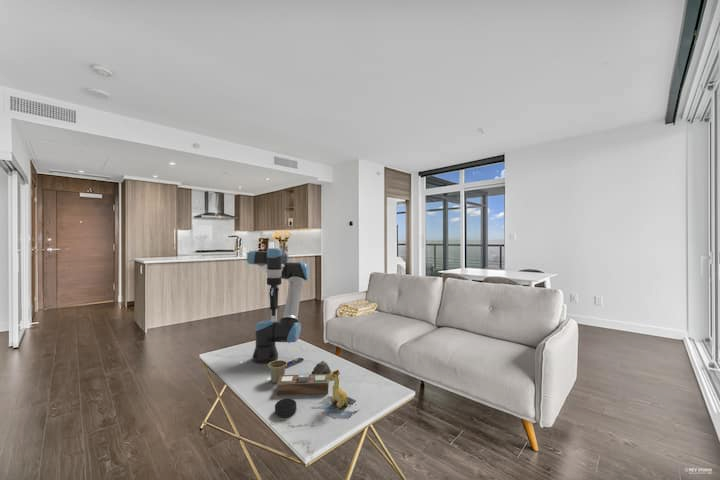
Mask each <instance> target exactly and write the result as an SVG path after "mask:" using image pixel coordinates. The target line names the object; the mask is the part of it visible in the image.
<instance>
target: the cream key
mask: <svg viewBox="0 0 720 480" xmlns="http://www.w3.org/2000/svg"><path fill="white" fill-rule="evenodd" d="M292 381H293V376H283V377H282V380H281V382H292Z"/></svg>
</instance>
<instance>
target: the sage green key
mask: <svg viewBox="0 0 720 480" xmlns="http://www.w3.org/2000/svg"><path fill="white" fill-rule="evenodd" d="M315 381H326V375H318V376H315Z"/></svg>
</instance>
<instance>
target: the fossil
mask: <svg viewBox="0 0 720 480" xmlns="http://www.w3.org/2000/svg"><path fill="white" fill-rule="evenodd" d="M330 372H332V370H331V368H330V366H329V364H328V363H327V362H326V361H325V360H321V361H320V362H318V363H316V365H315V366H314V368H313V370H312V371H311V372H310V374H330Z"/></svg>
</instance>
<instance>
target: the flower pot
mask: <svg viewBox="0 0 720 480" xmlns="http://www.w3.org/2000/svg"><path fill="white" fill-rule="evenodd" d="M267 364H268V368H269V372H270V378H271V379H270V380H271V382H272V383H274V384H277V383H278V381H279V378H280V376H281V375H286V368H287V365H288V362H287V361H286V360H283V359H282V360H281V359H277V360H275V361H272V362H269V363H267Z"/></svg>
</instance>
